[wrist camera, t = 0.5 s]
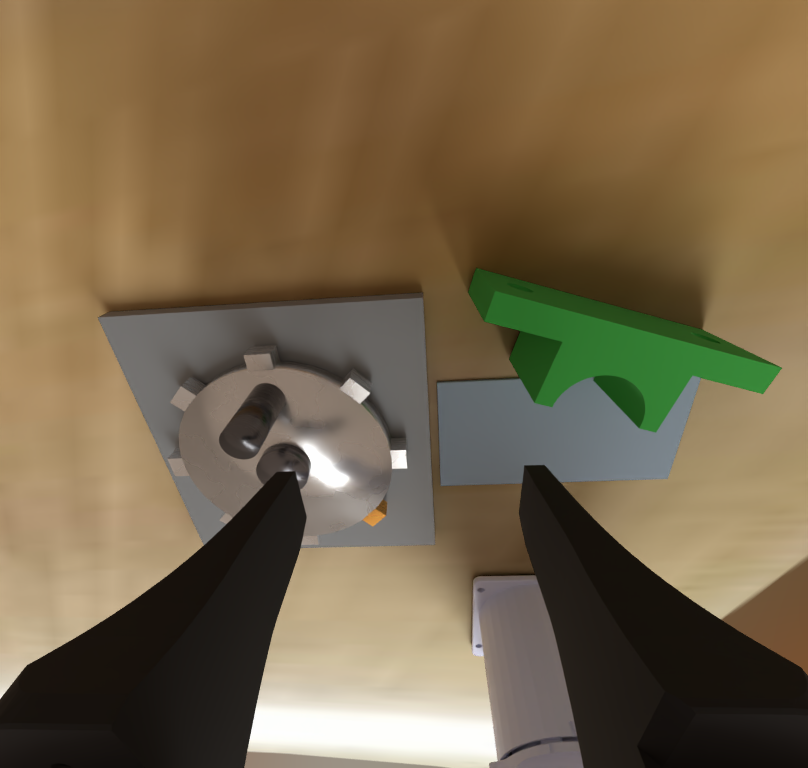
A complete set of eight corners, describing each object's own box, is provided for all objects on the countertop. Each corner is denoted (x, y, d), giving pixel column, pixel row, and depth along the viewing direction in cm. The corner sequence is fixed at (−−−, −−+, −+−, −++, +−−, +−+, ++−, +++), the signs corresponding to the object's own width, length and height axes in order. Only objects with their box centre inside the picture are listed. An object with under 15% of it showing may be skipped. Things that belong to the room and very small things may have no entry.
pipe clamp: (450, 343, 19) (459, 385, 15) (475, 267, 18) (493, 289, 14) (661, 397, 20) (724, 451, 16) (703, 329, 19) (786, 368, 14)
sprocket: (413, 528, 24) (413, 599, 20) (215, 533, 25) (177, 602, 21) (397, 338, 18) (391, 386, 14) (135, 352, 19) (61, 402, 15)
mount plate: (434, 534, 26) (435, 544, 25) (211, 539, 27) (206, 549, 26) (422, 292, 18) (422, 297, 17) (109, 311, 19) (97, 317, 18)
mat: (664, 475, 23) (667, 478, 23) (440, 482, 24) (440, 485, 24) (699, 367, 20) (703, 370, 19) (436, 380, 21) (437, 383, 20)
